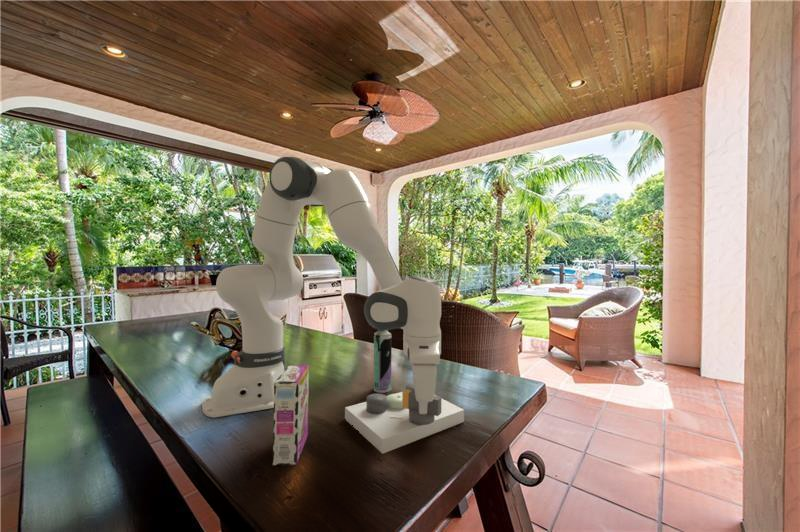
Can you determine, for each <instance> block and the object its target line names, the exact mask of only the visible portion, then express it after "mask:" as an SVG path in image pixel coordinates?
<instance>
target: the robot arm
mask: <svg viewBox="0 0 800 532" xmlns="http://www.w3.org/2000/svg"><path fill="white" fill-rule="evenodd" d="M268 179H269V182H268V183H266V186H265V188H264V190H263V193H262V195H261V197H260V201H259V204H258V208H257V212H256V215H255V221H254V225H253V231H252V235H251V242H252V244H253V246H254V247H255V249H257V250H258V251H259V252H261V253H262V254H263V257H264V258H263V262H262V264H238V265H234V266H229V267H225V268H224V269H222V270H221V271H220V273H219V274H218V276H217V278H216V282H215V283H216V284H215V287H216V288H215V289H216V292H217V294H218V297H219V298H220V299H221V300H222V301H223V302H224V303H226V304H227V305H229V306H230V307H231V308H232V309H233V310H234V311H235V313H236V314H237V316H238V319H239V321H240V326H241V338H242V350H240V351H238V350H232V352H231V354H230V355H231V357H232V359H233V360H234V365H233V366H231V368H229V369H228V370H227V371H225V372H224V373H223V374H221V375H220V376H219V377H218V378H217V379H216V380H215V382H214V383H213V386H212V390H211V394H210V395H209V396H207V397H205V398H204V399H203V401H202V404H201V410H202V414H204V416H206V417H209V418H219V417H220V418H221V417H225V416H232V415H237V414H244V413H250V412H256V411H262V410H268V409H274V382H275V381H276V380H277V379H278V378H279V377H280V375H281V374H282V373H283V372H284V371H285V364H286V350H285V349H286V348H285V346H284V323H283V320H282V319H281V317H279V316H277V315H275V314H273V313H271V311H270V309H269V305H268V302H273V301H283V300H288V299H291V298H293V297H296V296H298V295H299V294H300V293H301V291H302V290H303V287H304V276H303V273H302V272H301V270H300V269H299V268H298V267H297V266H296V263H295V260H294V254H293V253H294V243H295V238H296V233H297V227H298V223H299V220H300V219H299V218H300V214H301V212H302V209H303V208H304V207H305V206H311V207H314V208H315V207H324V209H325V212H326V213H325V214H326V215H327V218H328V221H329V224H330V225H331V228H332V230H333V232H334V234H335V235H336V237H337V240H339V242H340V243H341V244H342V245H344V246H345V247H347V248H350V250H353V251H354V252H356V253H358V254H359V255H361V257H363V258H364V259H365V261H367V262H368V264H369V266H370V268H371V270H372V272H373V275H374V276H375V278H376V281H377V283H378V284H379V287H380V290H377V291H375V292H374V293H371V294H370V295H369V296H368V297H367V299H366V300H365V302H364V305H363V314H364V318H365V320H366V322H367V323H368V325H369V326H371V327H372V328H373V329H375V330H377V331H378V330H387V331H389V330H397V329H401V330H403V333H402V334H403V335H402V336H403V337H402V340H403V343H402V345H403V346H402V349H403V350H402V352H403V354H404V355H405V356H406V358H407V359H408V362H409V364H410V365H411V369H412V377H413V384H414V389H415V397H416V400H417V401H418V402H419V413H420V414H427V405H428V402H432V401H433V399H434V395H436V385H437V383H436V382H437V370H438V369H437V367H438V366H437V365H439V364H440V363H441V355H442V329H441V327H440V326H441V325H440V323H441V317H442V296H441V295H442V294H441V289H440V286H439V283H438V282H437V281H436V280H434V279H433V278H430V277H425V276H420V275H409V276H407V277H406V278H405V279H403V278H402V275H401V274H400V271H399V269H398V266H397V265H396V262H395V260H394V258H393V256H392V253H391V252H390V250H389V247H388V246H387V243H386V241H385V239H384V236H383V234H382V232H381V230H380V227H379V224H378V222H377V221H378V220H377V219H376V215H375V213H374V210H373V207H372V205H371V202H370V201H369V198H368V196H367V194H366V192H365V190H364V187H363V186H362V184H361V183H360V181H359V179H358V178H357V176H356V175H355V174H354V173H353V172H352V171H351V170H349V169H345V168H338V169H337V168H336V169H332V168H329V167H326V166H324V165H322V164H320V163H318V162H314V161H308V160H306V159H302V158H299V157H296V156H282V157H279V158H278V159H276V160H275V161H274V162H273V164H272V165H271V167H270V171H269V175H268Z"/></svg>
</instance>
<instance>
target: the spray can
mask: <svg viewBox="0 0 800 532" xmlns="http://www.w3.org/2000/svg"><path fill="white" fill-rule="evenodd" d="M392 343H393V342H392V333H391V332H389V330H378V329H377V331H376V332H374V336H373V391H374V392H375V393H377V394H385V393H389V392H391V391H392Z"/></svg>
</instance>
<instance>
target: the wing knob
mask: <svg viewBox="0 0 800 532" xmlns="http://www.w3.org/2000/svg"><path fill="white" fill-rule="evenodd" d="M401 392H402V408H406V409H409V420H410V421H411V422H412V423H414V424H418V425H427V424H431V423H432V422H434V420H435V416H439V415H440V414H441V398H442V396H438V395H436V396H434V399H433V401H432V402H428V405H427V414H420V413H419V402H418V401H417V400H416V397H415V391H412V390H408V389H406V388H405V390H403V391H401Z"/></svg>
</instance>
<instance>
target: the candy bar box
mask: <svg viewBox="0 0 800 532" xmlns="http://www.w3.org/2000/svg"><path fill="white" fill-rule="evenodd" d="M309 378H310V365H288V366H287V367H286V368H285V369H284V372H283V373H282V374H281V375H280V377H279V378H278V379H277V380H276V381H275V382H274V407H273V429H272V431H273V432H272V433H273V436H272V437H273V439H272V466H274V467H275V466H276V465H282V466H286V465H287V466H296V465H298V462H299V460H300V457H301V455H302V451H303V448H304V446H305V444H306V442H307V439H308V436H309V395H310V393H309V391H310V387H309V386H310V379H309Z"/></svg>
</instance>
